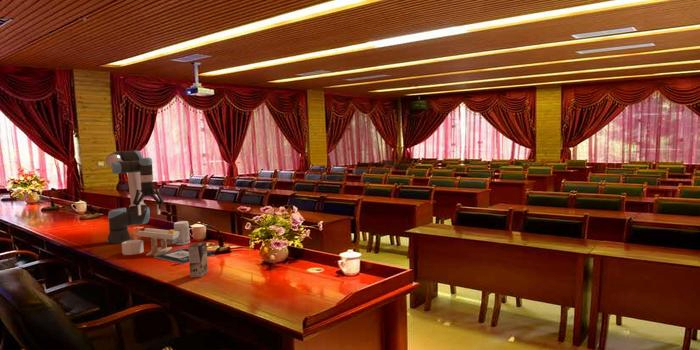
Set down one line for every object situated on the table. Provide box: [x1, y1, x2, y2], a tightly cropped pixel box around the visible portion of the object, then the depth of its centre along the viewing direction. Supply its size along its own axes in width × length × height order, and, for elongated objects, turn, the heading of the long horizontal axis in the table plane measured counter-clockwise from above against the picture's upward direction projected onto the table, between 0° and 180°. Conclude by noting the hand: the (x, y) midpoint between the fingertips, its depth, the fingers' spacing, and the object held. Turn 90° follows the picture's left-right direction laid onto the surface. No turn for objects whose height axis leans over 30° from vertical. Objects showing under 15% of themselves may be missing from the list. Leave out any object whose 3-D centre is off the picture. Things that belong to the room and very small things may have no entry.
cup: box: [121, 239, 145, 256], centre depth 292 cm, size 11×11×7 cm
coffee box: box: [188, 241, 209, 278], centre depth 238 cm, size 9×6×16 cm
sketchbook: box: [153, 247, 215, 265], centre depth 278 cm, size 22×30×2 cm
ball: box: [168, 229, 175, 234], centre depth 291 cm, size 4×4×4 cm
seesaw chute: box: [137, 227, 179, 245], centre depth 295 cm, size 22×18×7 cm
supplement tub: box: [173, 220, 191, 246], centre depth 313 cm, size 10×10×15 cm
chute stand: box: [145, 237, 173, 257], centre depth 292 cm, size 9×17×10 cm, turn 178°
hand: (149, 214), depth 301 cm, fingers open, 12 cm apart
